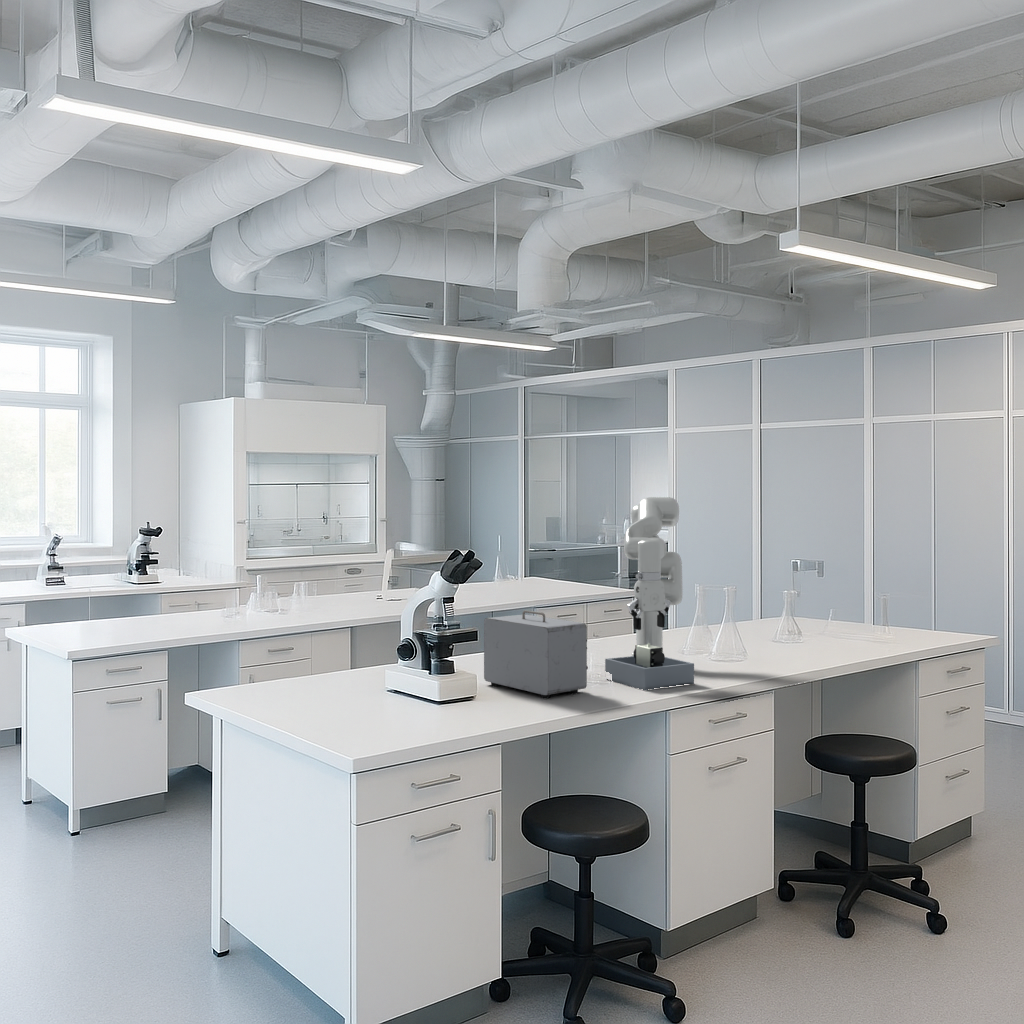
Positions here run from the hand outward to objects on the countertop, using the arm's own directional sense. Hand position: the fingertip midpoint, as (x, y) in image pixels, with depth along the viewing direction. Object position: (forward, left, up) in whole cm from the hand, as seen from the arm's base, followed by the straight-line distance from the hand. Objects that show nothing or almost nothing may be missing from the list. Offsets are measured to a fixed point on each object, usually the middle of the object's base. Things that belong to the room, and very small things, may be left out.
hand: (649, 628), depth 325 cm
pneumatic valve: (0, 0, -17) cm, 17 cm away
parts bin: (0, 0, -18) cm, 18 cm away
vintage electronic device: (-9, -38, -18) cm, 43 cm away
